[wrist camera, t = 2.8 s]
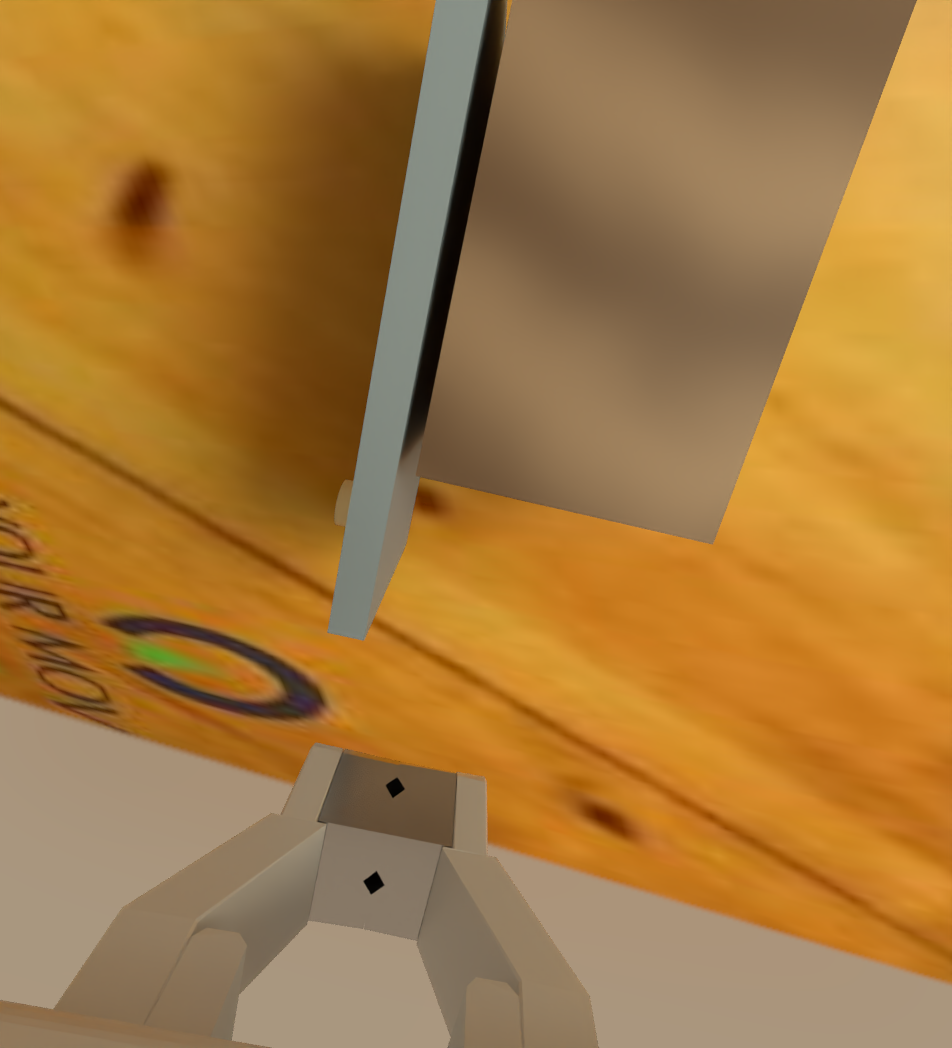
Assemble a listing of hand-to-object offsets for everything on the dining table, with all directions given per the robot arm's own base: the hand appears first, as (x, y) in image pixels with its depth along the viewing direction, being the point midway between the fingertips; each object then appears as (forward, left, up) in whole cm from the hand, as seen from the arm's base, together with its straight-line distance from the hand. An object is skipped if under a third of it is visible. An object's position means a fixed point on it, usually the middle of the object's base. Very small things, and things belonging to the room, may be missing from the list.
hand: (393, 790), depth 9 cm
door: (-8, -3, -18) cm, 20 cm away
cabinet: (-11, +3, -19) cm, 22 cm away
